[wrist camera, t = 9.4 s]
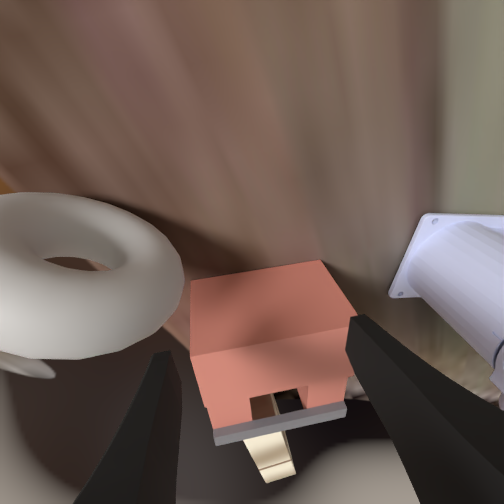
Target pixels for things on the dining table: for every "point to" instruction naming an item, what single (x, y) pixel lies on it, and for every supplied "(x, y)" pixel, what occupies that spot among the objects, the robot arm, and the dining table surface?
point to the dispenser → (270, 346)
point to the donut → (81, 277)
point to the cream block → (269, 443)
